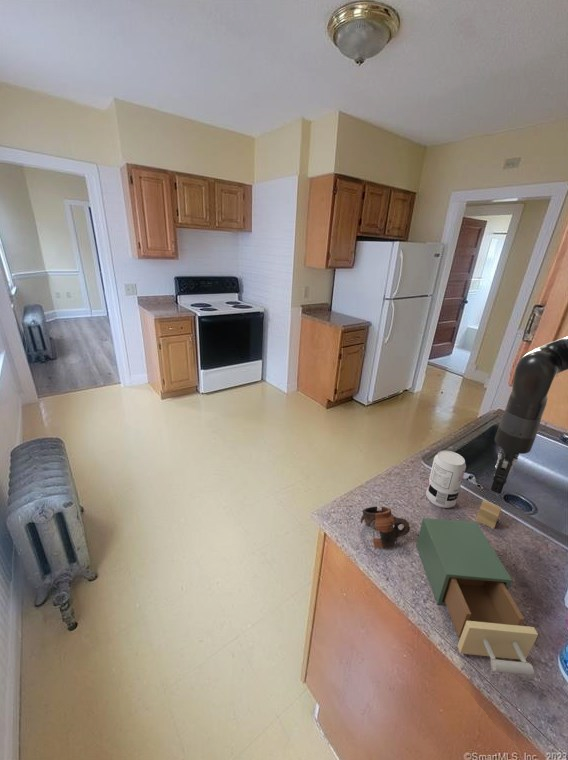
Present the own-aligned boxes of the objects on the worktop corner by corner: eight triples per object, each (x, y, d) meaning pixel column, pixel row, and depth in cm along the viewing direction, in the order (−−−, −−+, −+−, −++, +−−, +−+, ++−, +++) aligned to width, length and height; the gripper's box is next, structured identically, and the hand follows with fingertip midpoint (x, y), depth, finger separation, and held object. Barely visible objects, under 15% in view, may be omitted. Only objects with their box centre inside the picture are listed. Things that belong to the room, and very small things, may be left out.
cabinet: (499, 610, 66) (512, 580, 63) (437, 604, 67) (446, 574, 64) (467, 550, 80) (476, 522, 76) (416, 545, 81) (422, 518, 77)
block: (479, 511, 92) (483, 499, 90) (497, 519, 89) (501, 507, 88) (475, 520, 89) (479, 508, 87) (493, 529, 86) (498, 516, 85)
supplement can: (422, 488, 100) (431, 448, 95) (450, 491, 99) (461, 450, 94) (429, 507, 93) (440, 464, 87) (459, 511, 92) (472, 467, 86)
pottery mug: (362, 549, 80) (358, 515, 81) (364, 536, 89) (360, 505, 90) (413, 550, 76) (408, 514, 77) (410, 536, 85) (406, 503, 86)
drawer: (542, 692, 53) (557, 666, 51) (471, 684, 54) (482, 658, 51) (487, 587, 70) (496, 563, 67) (433, 582, 71) (440, 558, 68)
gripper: (533, 447, 70) (511, 505, 76) (539, 424, 80) (519, 476, 86) (493, 434, 75) (476, 490, 81) (504, 414, 85) (487, 464, 91)
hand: (498, 483), depth 84 cm, fingers open, 8 cm apart
